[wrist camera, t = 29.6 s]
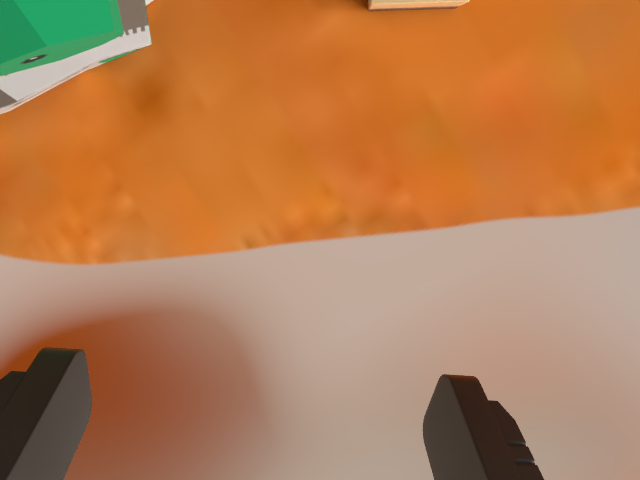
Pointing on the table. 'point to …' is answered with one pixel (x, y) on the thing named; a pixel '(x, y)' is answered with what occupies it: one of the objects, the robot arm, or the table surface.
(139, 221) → the table surface
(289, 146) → the table surface
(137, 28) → the toy
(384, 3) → the green peg on base
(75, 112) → the table surface
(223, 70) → the table surface
